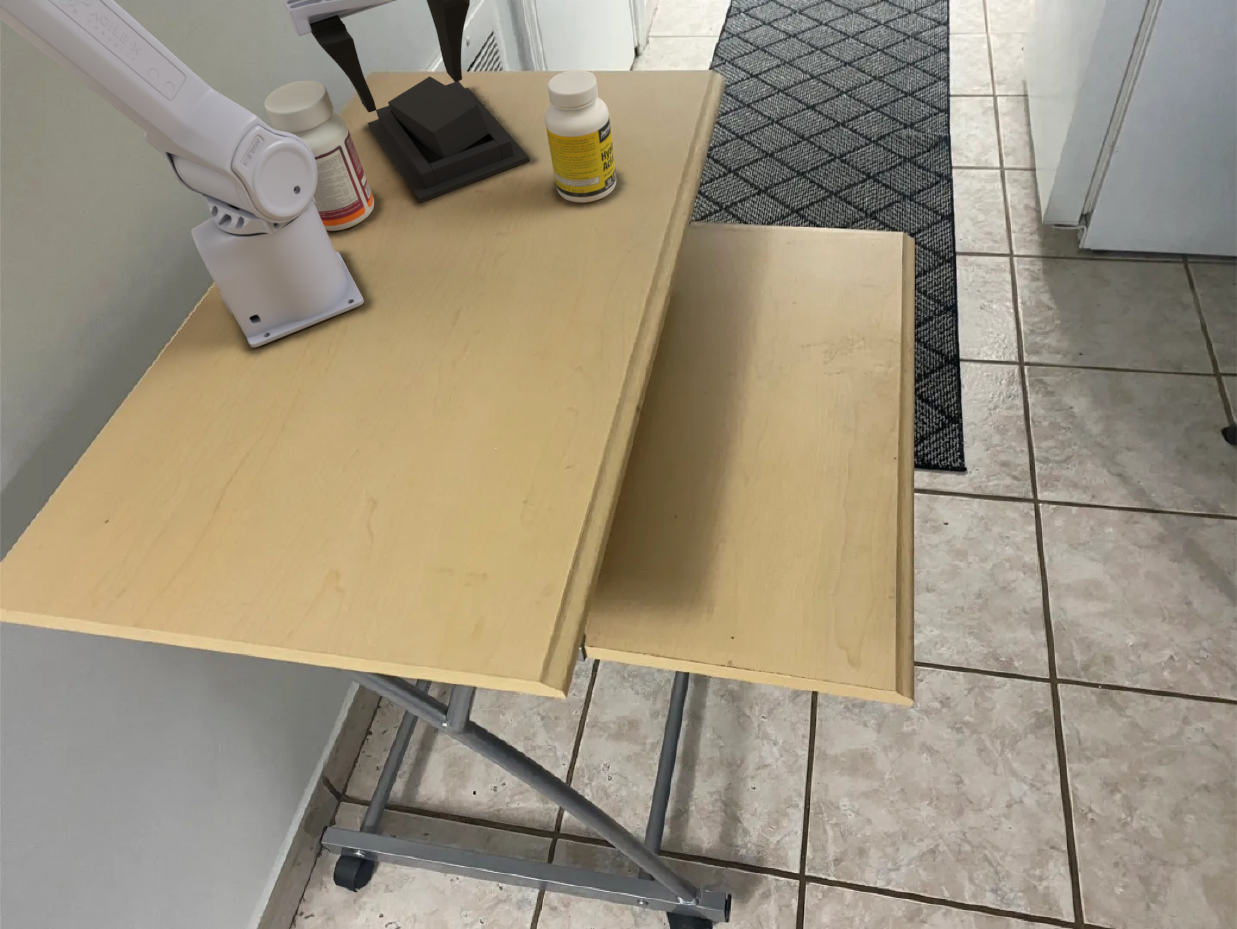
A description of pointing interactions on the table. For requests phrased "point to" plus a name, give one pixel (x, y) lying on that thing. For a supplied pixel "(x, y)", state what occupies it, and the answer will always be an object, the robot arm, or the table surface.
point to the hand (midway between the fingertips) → (412, 91)
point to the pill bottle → (324, 151)
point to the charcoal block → (439, 117)
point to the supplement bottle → (579, 137)
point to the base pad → (448, 174)
